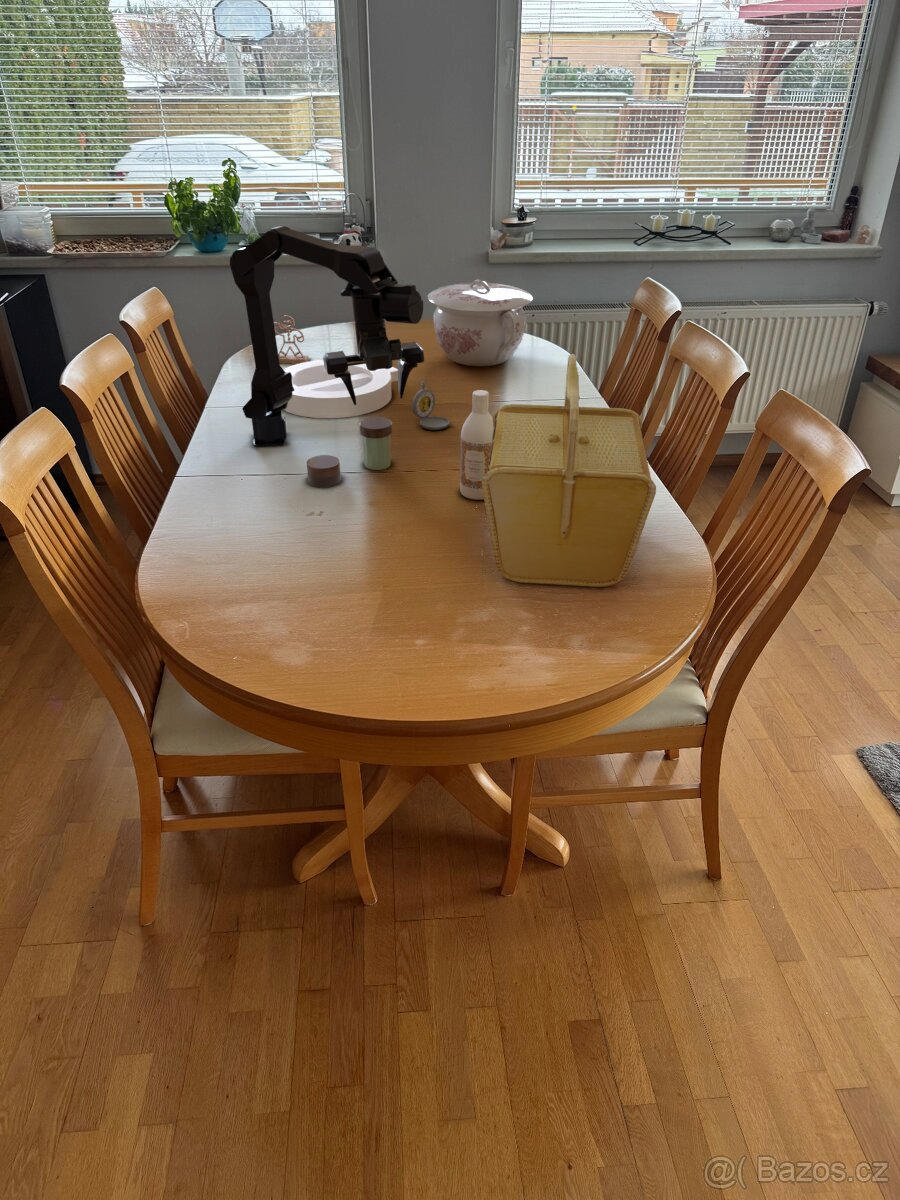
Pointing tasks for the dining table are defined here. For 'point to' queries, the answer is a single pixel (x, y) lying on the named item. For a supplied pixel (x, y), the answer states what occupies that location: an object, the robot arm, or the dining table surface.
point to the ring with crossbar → (338, 390)
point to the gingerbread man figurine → (285, 357)
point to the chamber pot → (479, 321)
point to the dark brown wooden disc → (375, 427)
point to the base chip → (324, 481)
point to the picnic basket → (566, 491)
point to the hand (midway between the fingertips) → (378, 401)
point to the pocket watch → (427, 409)
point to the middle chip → (323, 466)
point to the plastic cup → (376, 453)
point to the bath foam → (475, 446)
